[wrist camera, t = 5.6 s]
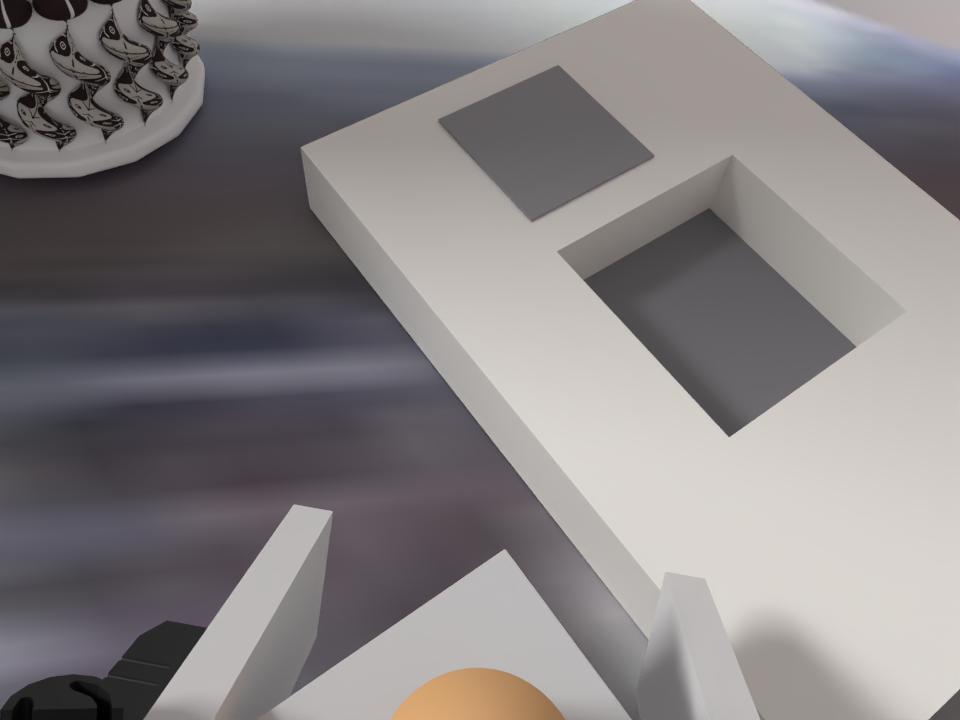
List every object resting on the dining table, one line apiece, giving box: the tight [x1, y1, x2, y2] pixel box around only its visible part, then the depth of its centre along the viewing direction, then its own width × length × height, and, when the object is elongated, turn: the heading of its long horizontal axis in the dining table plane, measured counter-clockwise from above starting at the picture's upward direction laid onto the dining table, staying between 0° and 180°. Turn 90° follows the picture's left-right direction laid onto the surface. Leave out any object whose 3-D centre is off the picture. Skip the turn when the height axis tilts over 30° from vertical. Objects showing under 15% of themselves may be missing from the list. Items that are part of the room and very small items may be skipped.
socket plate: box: [300, 0, 960, 720], centre depth 23 cm, size 20×14×3 cm
